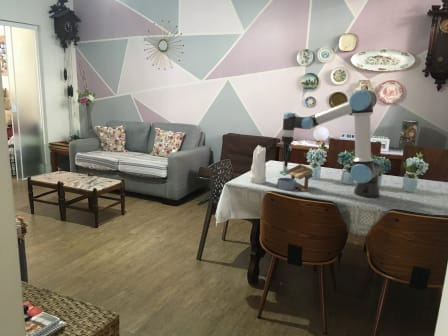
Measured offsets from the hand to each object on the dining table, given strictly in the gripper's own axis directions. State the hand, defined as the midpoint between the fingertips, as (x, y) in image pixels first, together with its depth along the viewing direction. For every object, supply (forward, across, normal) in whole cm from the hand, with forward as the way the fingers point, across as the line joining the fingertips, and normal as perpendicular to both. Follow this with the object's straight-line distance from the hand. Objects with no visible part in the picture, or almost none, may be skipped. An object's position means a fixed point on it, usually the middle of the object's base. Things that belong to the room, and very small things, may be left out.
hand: (284, 170), depth 247 cm
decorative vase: (+9, -6, -17) cm, 20 cm away
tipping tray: (+3, +8, +5) cm, 10 cm away
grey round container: (+9, +12, -4) cm, 15 cm away
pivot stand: (+9, +12, +5) cm, 16 cm away
